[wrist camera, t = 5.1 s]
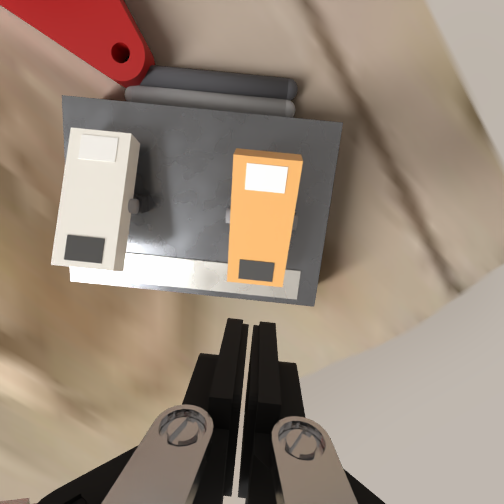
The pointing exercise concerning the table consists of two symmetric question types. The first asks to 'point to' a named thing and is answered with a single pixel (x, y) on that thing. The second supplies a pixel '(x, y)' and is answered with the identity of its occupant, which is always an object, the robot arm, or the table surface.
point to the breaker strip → (208, 195)
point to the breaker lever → (262, 215)
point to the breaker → (96, 200)
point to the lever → (91, 34)
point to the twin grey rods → (215, 91)
